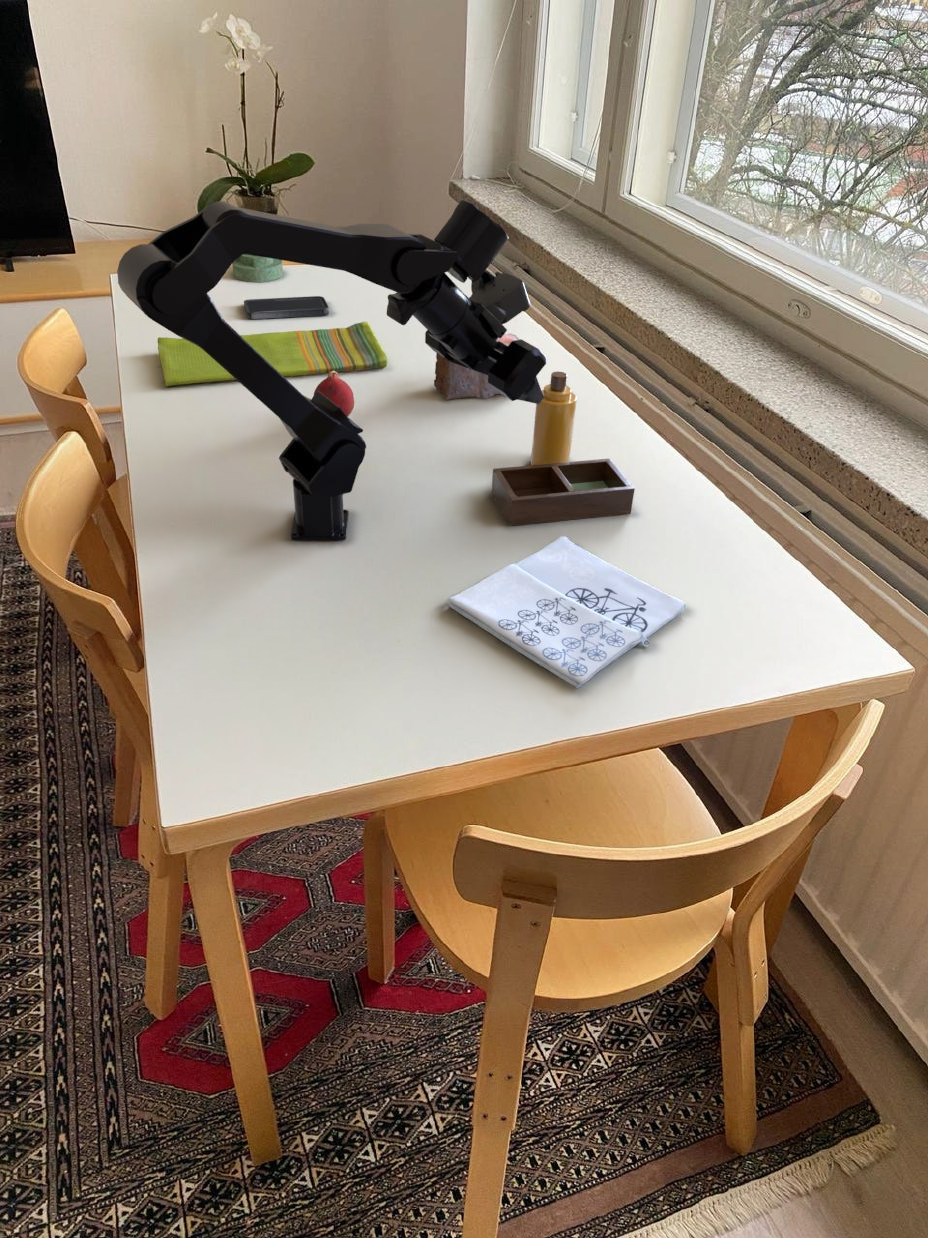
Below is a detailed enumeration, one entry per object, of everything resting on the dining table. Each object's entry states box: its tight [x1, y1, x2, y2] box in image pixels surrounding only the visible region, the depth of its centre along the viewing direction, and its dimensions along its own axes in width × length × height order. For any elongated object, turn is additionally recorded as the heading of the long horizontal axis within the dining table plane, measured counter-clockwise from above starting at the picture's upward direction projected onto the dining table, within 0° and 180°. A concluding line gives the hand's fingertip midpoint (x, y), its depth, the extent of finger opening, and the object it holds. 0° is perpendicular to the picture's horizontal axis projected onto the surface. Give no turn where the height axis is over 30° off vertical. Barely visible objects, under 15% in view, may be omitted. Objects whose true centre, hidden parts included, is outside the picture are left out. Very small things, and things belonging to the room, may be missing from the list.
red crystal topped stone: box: [433, 332, 520, 401], centre depth 144 cm, size 14×8×10 cm, turn 111°
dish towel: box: [157, 321, 388, 387], centre depth 152 cm, size 15×36×3 cm, turn 109°
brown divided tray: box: [490, 458, 636, 527], centre depth 118 cm, size 8×16×4 cm, turn 105°
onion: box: [313, 371, 355, 418], centre depth 132 cm, size 6×6×8 cm
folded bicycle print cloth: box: [444, 535, 687, 689], centre depth 99 cm, size 19×20×2 cm
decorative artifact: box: [231, 254, 284, 283], centre depth 189 cm, size 10×7×10 cm
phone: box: [243, 295, 330, 320], centre depth 173 cm, size 8×1×15 cm
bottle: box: [530, 371, 578, 465], centre depth 124 cm, size 5×5×13 cm
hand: (519, 387), depth 117 cm, fingers open, 9 cm apart
